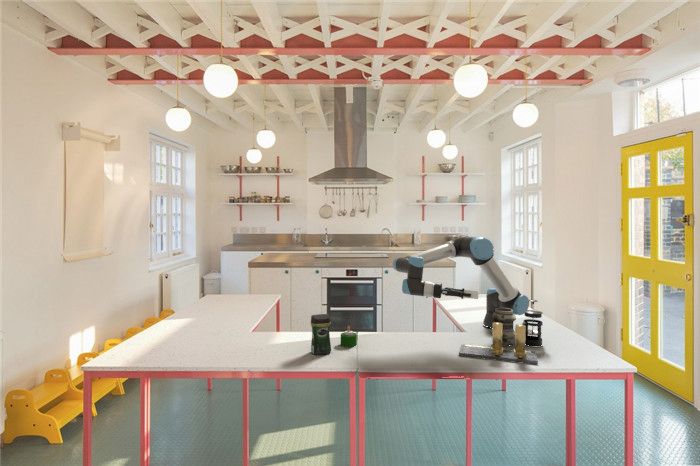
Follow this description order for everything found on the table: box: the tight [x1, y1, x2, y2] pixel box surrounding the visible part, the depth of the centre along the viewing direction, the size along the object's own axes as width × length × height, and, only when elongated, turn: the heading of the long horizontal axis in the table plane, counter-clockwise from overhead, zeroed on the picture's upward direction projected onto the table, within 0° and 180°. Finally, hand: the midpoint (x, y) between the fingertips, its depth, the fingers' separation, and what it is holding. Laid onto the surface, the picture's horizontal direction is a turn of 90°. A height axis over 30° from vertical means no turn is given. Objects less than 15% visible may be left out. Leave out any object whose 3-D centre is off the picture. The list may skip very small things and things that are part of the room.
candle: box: [340, 325, 358, 348], centre depth 212 cm, size 8×8×10 cm
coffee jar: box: [310, 313, 332, 356], centre depth 200 cm, size 10×8×19 cm
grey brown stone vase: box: [490, 308, 517, 347], centre depth 214 cm, size 12×12×18 cm
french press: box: [521, 299, 544, 347], centre depth 213 cm, size 12×9×23 cm
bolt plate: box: [458, 323, 539, 365], centre depth 196 cm, size 34×14×15 cm, turn 70°
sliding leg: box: [491, 322, 504, 355], centre depth 195 cm, size 5×8×14 cm, turn 160°
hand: (478, 295), depth 200 cm, fingers open, 13 cm apart
